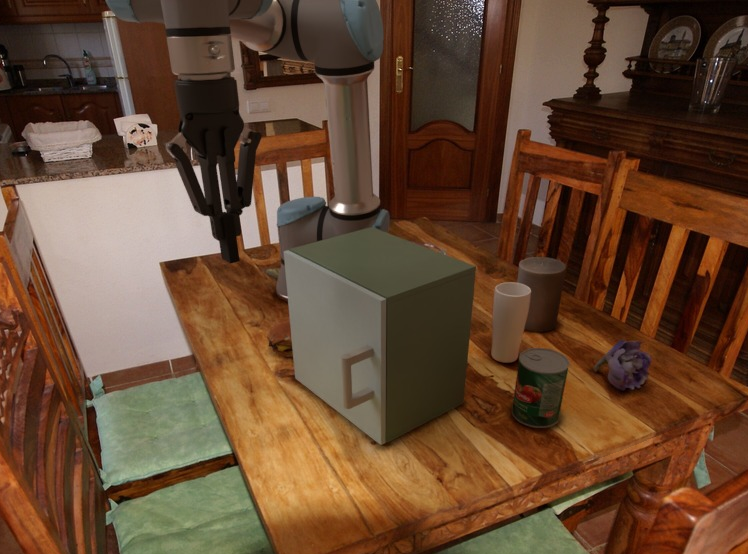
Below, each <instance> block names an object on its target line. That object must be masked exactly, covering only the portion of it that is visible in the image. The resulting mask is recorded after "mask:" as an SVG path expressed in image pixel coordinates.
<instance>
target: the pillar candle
mask: <svg viewBox="0 0 748 554" xmlns="http://www.w3.org/2000/svg"><path fill="white" fill-rule="evenodd" d="M517 270H518V271H517V279H516V283H521V284H524V285H526V286H528V287H529V288H530V289H531V299H530V306H529V312H528V316H527V320H526V324H525V328H524V331H528V332H537V333H538V332H541V333H543V332H550V331H553V330H554V329H555V328H556V327H557V325H558V316H559V312H560V306H561V300H562V296H563V295H562V294H563V287H564V283H565V277H566V270H567V265H566V264H565V263H564V262H563V261H561V260H559V259H555V258H552V257H547V256H545V257H543V256H532V257H527V258H525V259H521V260H520V261H519V263H518V269H517Z"/></svg>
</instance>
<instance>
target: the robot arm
mask: <svg viewBox="0 0 748 554" xmlns="http://www.w3.org/2000/svg"><path fill="white" fill-rule="evenodd" d="M105 3H106V5H107V7H108V8H109V9H110V11H111V12H112V13H113V15H114V16H115V17H116V18H118V19H119V20H121V21H123V22H127V23H128V22H131V23H137V24H143V23H147V22H149V23H158V24H162V25H164V26H165V37H166V44H167V49H168V57H169V62H170V70H171V73H172V74H173V75H175V76H177V79H175V80H174V82H173V86H174V92H175V98H176V103H177V104H176V105H177V109H178V115H179V122H178V127H177V130H178V133H177V134H176V135H175V136H174V137H173V138H172V139H171V140H167V141H164V142H163V144H162V147H163V150H164V151H165V152H166V153H167V155H169V156H170V157H171V159H172V160H173V162H174V165H175V166H176V169H177V172H178V175H179V176H180V179H181V182H182V184H183V186H184V188H185V191H186V193H187V197H188V198H189V201H190V203H191V205H192V207H193V210H194V211H195V212H196V213H198V214H200V215H201V216H203V217H208V218H209V223H210V229H211V235H212V237H213V239H214V240H216V241H218V243H219V250H220V256H221V259H222V260H223V261H225V262H226V263H229V264H235V263H238V262H241V260H240V259H241V258H240V253H239V252H240V251H239V246H238V238H237V237H240V236H242V226H241V217H240V216H242V214H243V211H244V210H243V209H245V208H249V207H251V205H252V198H253V187H254V180H255V179H254V177H255V169H256V168H255V167H256V157H257V150H258V148H259V145H260V143H261V140H262V134H261V132H259V131H256V130H252V129H250V128H249V127H247V126H246V125H245V122H244V119H243V118H242V115H241V114H240V100H239V99H240V98H239V89H238V82H237V81H238V80H237V79H236V78H235V77H234V76H232V74H231V73H234V72H235V70H236V66H235V65H236V64H235V57H234V48H233V40H234V41H238V42H242V44H244V45H245V46H246V47H247V48H248V49H250V50H252V51H254V52H255V51H256V52H260V53H263V54H267V55H271V56H275V57H278V58H282V59H287V60H293V61H299V62H300V61H301V62H314V73H315V75H316V76H317V77H318V78H319V79H321V81H322V82H323V86H324V97H325V98H324V99H325V108H326V118H327V119H326V120H327V130H328V139H329V150H330V160H331V161H330V162H331V168H332V169H331V170H332V171H331V172H332V181H333V193H334V196H333V198H332V199H331V200H330V201H329V203H328V205H327V201H326V199H325V198H324V197H321V196H306V197H299V198H295V199H291V200H288V201H285V202H283V203H281V204H280V205H279V206H278V208H277V210H276V227H277V235H278V245H279V255H280V267H279V272H278V276H277V280H276V281H277V282H276V285H275V286H276V287H275V290H276V296H277V298H278V299H279V300H281V301H283V302H286V303H288V294H287V283H286V272H285V261H284V251H287V250H289V251H290V249H291V248H295V247H299V246H303V245H306V244H310V243H314V242H318V241H321V240H325V239H329V238H333V237H336V236H340V235H344V234H348V233H351V232H355V231H359V230H363V229H366V228H370V227H373V228H376V229H378V230H381V231H384V232H386V233H389V230H390V222H391V221H390V220H391V218H390V217H391V215H390V212H389V211H388V210H386V209H385V208H382V209H381V199H380V198H379V196H377V195H376V194H375V193H374V183H373V182H374V181H373V165H372V164H373V163H372V145H371V143H372V142H371V125H370V107H369V106H370V105H369V89H368V87H369V85H368V78H369V77H370V75H372V73H373V71H375V62H376V61H378V60H379V59H381V58H382V55H383V52H384V40H385V39H384V38H385V37H384V35H385V34H384V23H383V17H382V15H381V8H380V6H379V3H378V1H377V0H105ZM238 142H240V145H239V151H238V160H237V161H238V163H237V174H236V166H235V162H236V153H235V149H236V146H237V144H238ZM187 145H188V146H189V147H190V148H191V149H192V151H194V152H195V154H196V157H197V162H198V164H199V167H200V174H201V181H202V187H201V184H200V182H199V179H198V177H197V174H196V171H195V169H194V167H193V164H192V162H191V159H190V158H189V156H188V154H187V153H188V147H187ZM217 165H218V167H217ZM218 172H219V174H218ZM218 175H219V176H218ZM219 179H220V181H219ZM219 182H220V183H219ZM220 187H221V190H220ZM202 188H203V189H202ZM221 194H222V197H221ZM222 200H223V203H222ZM223 207H224V209H223ZM224 210H225V211H224Z"/></svg>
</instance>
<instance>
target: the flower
mask: <svg viewBox="0 0 748 554" xmlns="http://www.w3.org/2000/svg"><path fill="white" fill-rule="evenodd" d="M643 343H644V341H642V340H634V341H632V340H631V341H626V340H624V339H621V340H619V341H617V342H616V343H615V345H613V346H612V347H611V348H610V349H609V350H608V351H607V352H606V353H605V354H604V355H603V356H602V357H601V358H600V359H599V360H598V362H596V363H595V365H594V366H593V372H594V373H597V372H599V369H601V367H602V366H604V365H607V364H608V368H609V371H608V373H607V380H608V382H609V383H610V384H611V385H612V386H613V387H614V388H615V389H617V390H618V391H626V389H627V388H628V389H630V390H632V391H633V390H635V388H636V389H641V388H642V386H641V385H644V384H645V382H646V380H649V377H650V373H649V371H648V370H649V369H650V367H651V365H652V358H651V354H649V353H647V352H645V351H642V350H640V348H641V347H642V346H641V344H643Z"/></svg>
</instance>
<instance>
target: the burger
mask: <svg viewBox="0 0 748 554" xmlns="http://www.w3.org/2000/svg"><path fill="white" fill-rule="evenodd" d="M266 339H267V340H268V347H270V348H271V350H272V352H274V353H275V354H277V355H283V356H284V357H286V358H293V349H292V338H291V327H290V320H289V321H283V322H280V323H278V324H276V325H274V326H273V327H271V329H269V331H268V333H267V336H266Z"/></svg>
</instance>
